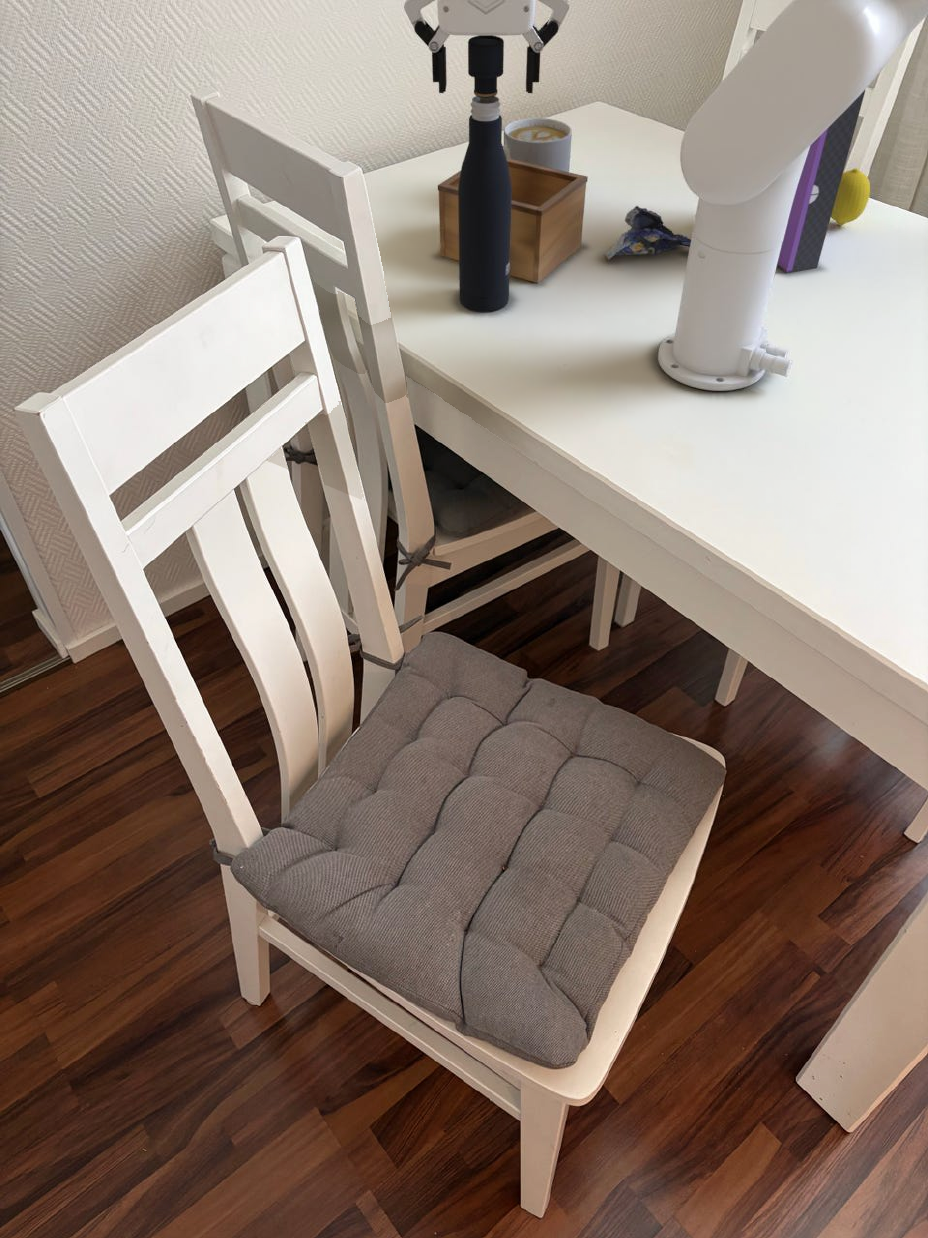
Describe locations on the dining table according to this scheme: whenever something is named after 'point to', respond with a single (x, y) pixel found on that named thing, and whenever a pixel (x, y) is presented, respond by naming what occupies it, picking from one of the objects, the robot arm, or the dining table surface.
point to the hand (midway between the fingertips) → (485, 88)
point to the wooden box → (527, 218)
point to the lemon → (851, 197)
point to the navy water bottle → (484, 188)
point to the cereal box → (817, 193)
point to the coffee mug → (539, 142)
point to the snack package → (646, 235)
